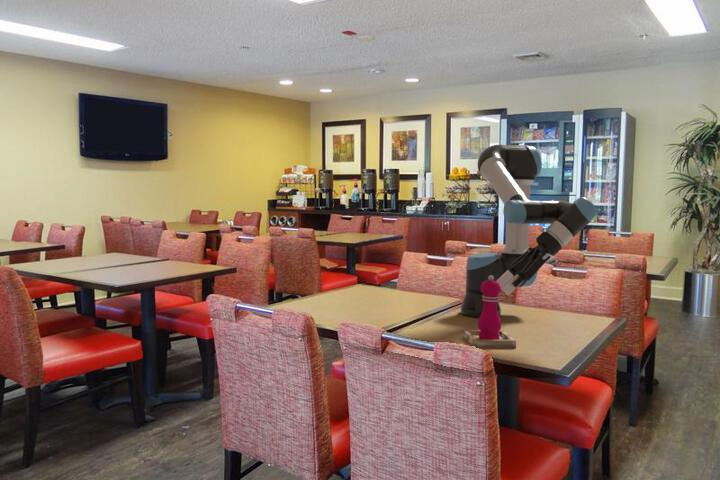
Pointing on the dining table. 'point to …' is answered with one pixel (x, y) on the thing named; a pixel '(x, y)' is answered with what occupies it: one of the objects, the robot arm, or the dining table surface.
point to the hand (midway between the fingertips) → (500, 289)
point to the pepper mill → (490, 311)
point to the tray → (503, 341)
